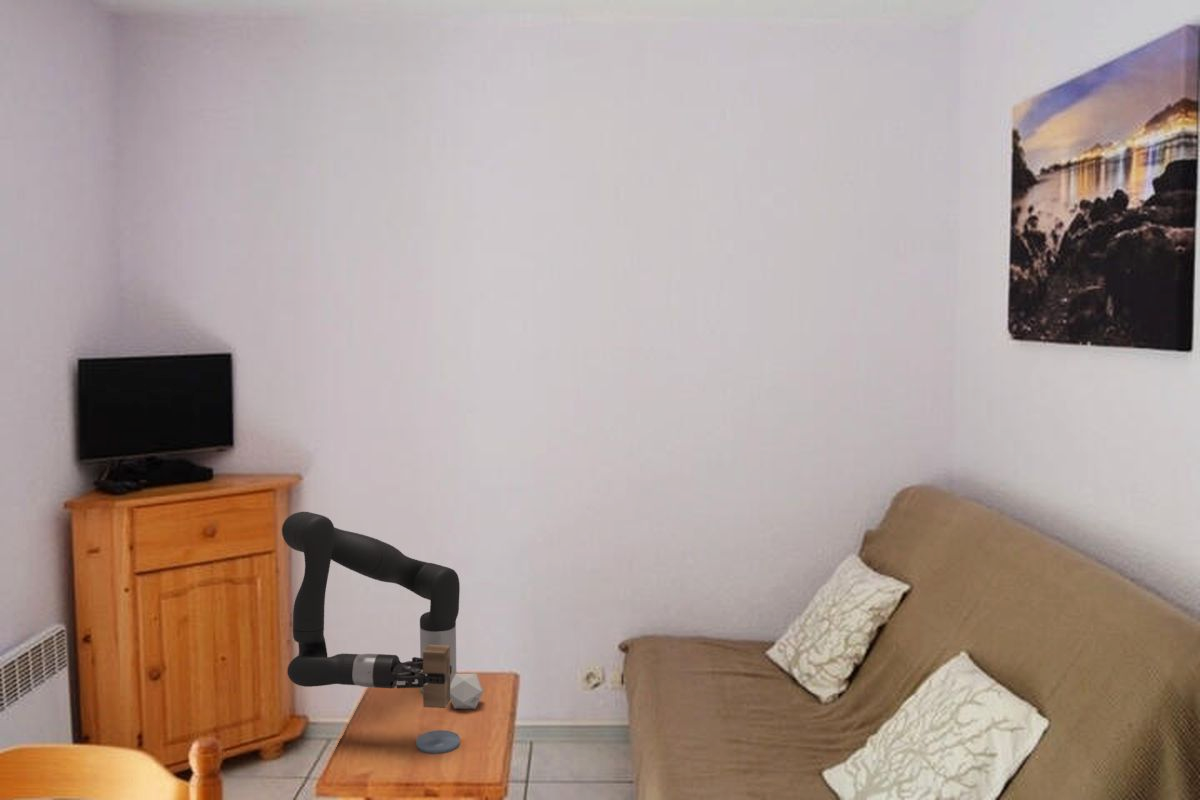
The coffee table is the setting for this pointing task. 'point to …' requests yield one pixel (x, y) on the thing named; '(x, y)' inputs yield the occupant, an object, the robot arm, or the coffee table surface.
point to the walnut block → (438, 662)
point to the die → (465, 691)
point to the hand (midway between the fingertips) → (447, 674)
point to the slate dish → (437, 741)
